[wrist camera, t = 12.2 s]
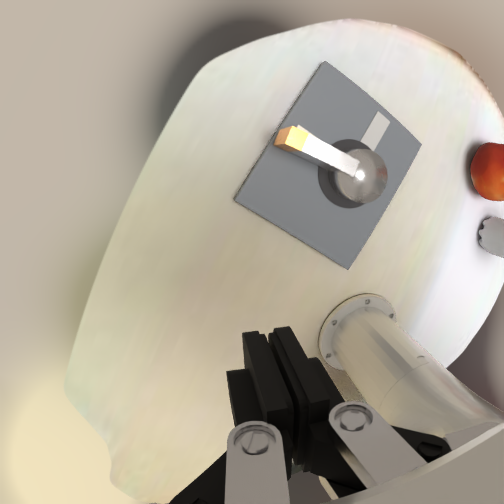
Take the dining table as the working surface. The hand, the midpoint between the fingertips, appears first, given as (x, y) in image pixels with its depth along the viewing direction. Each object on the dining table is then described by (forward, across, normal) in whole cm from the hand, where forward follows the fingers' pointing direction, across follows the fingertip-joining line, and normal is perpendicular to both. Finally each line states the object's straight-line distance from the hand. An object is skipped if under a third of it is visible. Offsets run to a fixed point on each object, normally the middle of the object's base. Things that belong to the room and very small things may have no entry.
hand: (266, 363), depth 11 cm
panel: (+27, -15, -6) cm, 31 cm away
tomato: (+27, -42, -6) cm, 51 cm away
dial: (+26, -13, -6) cm, 29 cm away
